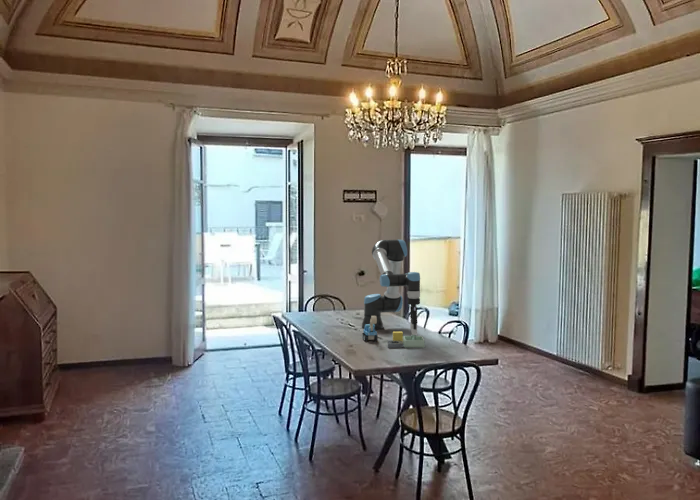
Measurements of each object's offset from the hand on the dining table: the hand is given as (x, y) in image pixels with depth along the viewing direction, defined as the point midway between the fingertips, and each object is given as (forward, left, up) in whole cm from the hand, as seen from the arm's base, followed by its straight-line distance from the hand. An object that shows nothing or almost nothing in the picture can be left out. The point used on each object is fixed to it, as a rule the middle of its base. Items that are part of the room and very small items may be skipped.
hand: (413, 332), depth 363 cm
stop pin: (0, 0, -7) cm, 7 cm away
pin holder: (+2, -12, -8) cm, 14 cm away
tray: (0, 0, -8) cm, 8 cm away
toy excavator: (-13, -26, -8) cm, 30 cm away
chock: (-11, -9, -8) cm, 16 cm away
